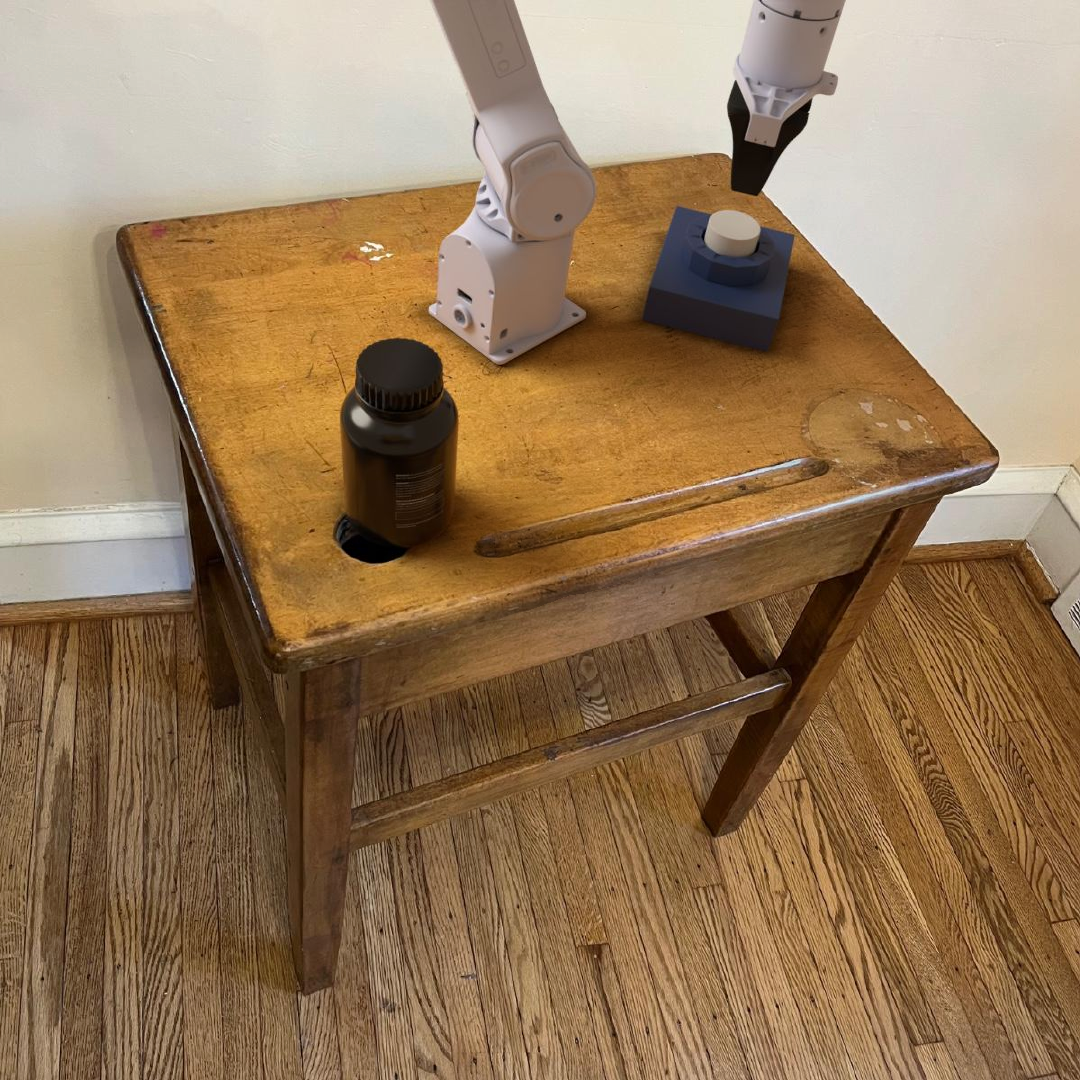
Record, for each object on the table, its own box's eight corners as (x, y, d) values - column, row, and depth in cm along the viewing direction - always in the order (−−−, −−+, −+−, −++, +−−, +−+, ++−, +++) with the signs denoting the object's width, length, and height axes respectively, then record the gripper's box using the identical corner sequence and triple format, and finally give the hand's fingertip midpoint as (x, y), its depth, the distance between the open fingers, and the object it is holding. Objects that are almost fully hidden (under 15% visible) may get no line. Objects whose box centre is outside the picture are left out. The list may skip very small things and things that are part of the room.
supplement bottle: (460, 480, 70) (472, 335, 61) (444, 560, 66) (454, 415, 56) (356, 465, 70) (352, 317, 61) (332, 543, 65) (324, 396, 56)
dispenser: (767, 352, 82) (785, 299, 79) (641, 320, 83) (653, 266, 80) (784, 267, 90) (801, 215, 87) (668, 238, 91) (681, 185, 87)
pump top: (751, 264, 82) (757, 244, 81) (700, 251, 82) (705, 232, 81) (757, 236, 84) (763, 217, 83) (708, 224, 85) (713, 205, 83)
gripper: (852, 62, 64) (787, 254, 75) (866, -27, 74) (807, 154, 84) (737, 36, 65) (689, 230, 75) (765, -50, 74) (719, 133, 85)
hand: (745, 188), depth 80 cm, fingers closed
